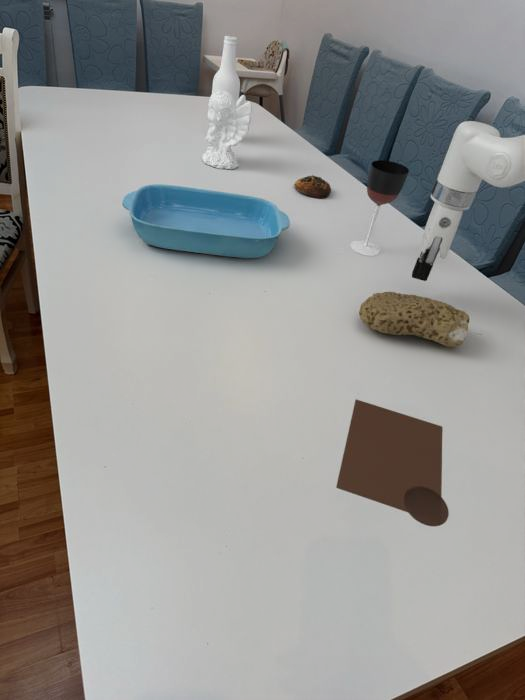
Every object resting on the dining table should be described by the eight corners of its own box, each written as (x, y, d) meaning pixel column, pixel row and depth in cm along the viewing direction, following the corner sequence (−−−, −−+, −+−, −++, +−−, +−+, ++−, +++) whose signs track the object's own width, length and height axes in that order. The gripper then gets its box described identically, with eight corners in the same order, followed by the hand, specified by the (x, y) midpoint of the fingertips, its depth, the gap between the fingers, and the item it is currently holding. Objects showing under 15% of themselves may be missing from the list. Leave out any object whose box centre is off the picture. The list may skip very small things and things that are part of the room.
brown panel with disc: (355, 399, 80) (355, 399, 80) (448, 428, 78) (448, 428, 78) (334, 493, 65) (335, 493, 65) (448, 532, 63) (448, 532, 63)
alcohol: (204, 138, 167) (211, 35, 148) (214, 132, 174) (222, 32, 155) (228, 144, 166) (239, 41, 147) (237, 138, 173) (249, 38, 154)
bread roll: (321, 201, 139) (323, 183, 137) (286, 193, 144) (288, 176, 141) (337, 192, 148) (339, 175, 145) (304, 185, 152) (305, 169, 149)
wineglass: (388, 253, 121) (416, 172, 109) (361, 258, 117) (387, 175, 105) (368, 238, 126) (392, 159, 114) (341, 242, 122) (363, 161, 110)
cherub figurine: (199, 152, 156) (204, 82, 144) (238, 155, 159) (246, 87, 147) (203, 168, 147) (209, 94, 134) (245, 171, 149) (254, 99, 137)
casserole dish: (281, 224, 125) (286, 197, 121) (288, 270, 108) (295, 241, 103) (131, 207, 120) (131, 178, 116) (115, 252, 103) (113, 220, 99)
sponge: (454, 332, 101) (368, 285, 102) (478, 308, 95) (385, 258, 96) (442, 377, 93) (349, 326, 94) (467, 354, 87) (366, 300, 88)
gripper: (474, 214, 87) (435, 300, 98) (471, 186, 98) (437, 266, 110) (432, 203, 88) (398, 289, 99) (434, 176, 99) (403, 257, 111)
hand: (418, 277), depth 104 cm, fingers closed
